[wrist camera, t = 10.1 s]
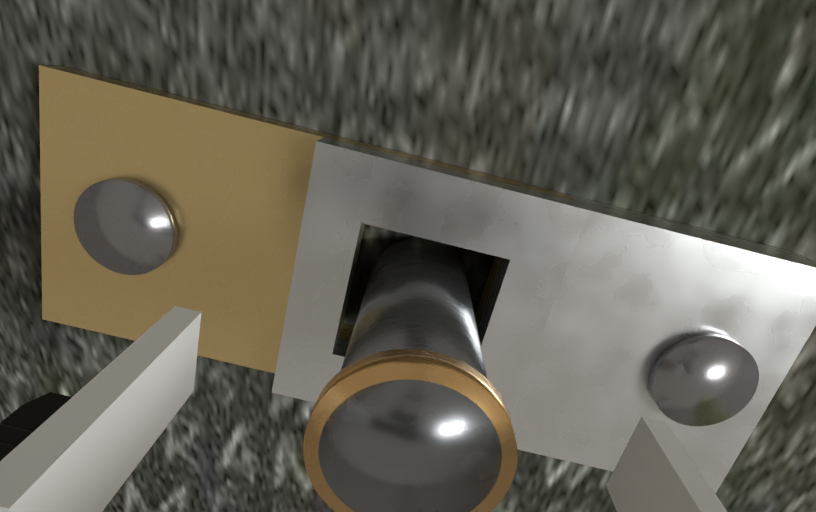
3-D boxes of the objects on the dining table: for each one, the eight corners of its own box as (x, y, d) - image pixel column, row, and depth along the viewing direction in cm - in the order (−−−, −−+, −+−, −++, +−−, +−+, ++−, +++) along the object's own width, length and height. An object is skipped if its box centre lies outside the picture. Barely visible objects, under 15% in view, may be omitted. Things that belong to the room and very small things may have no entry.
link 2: (330, 134, 22) (312, 142, 18) (793, 251, 23) (857, 280, 19) (289, 358, 26) (267, 400, 22) (684, 451, 27) (721, 504, 23)
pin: (375, 216, 23) (324, 342, 12) (489, 244, 23) (547, 394, 12) (351, 319, 25) (287, 514, 13) (457, 344, 25) (481, 556, 14)
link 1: (64, 66, 21) (27, 64, 19) (568, 194, 22) (582, 205, 20) (64, 306, 25) (32, 324, 23) (491, 406, 26) (496, 432, 24)
